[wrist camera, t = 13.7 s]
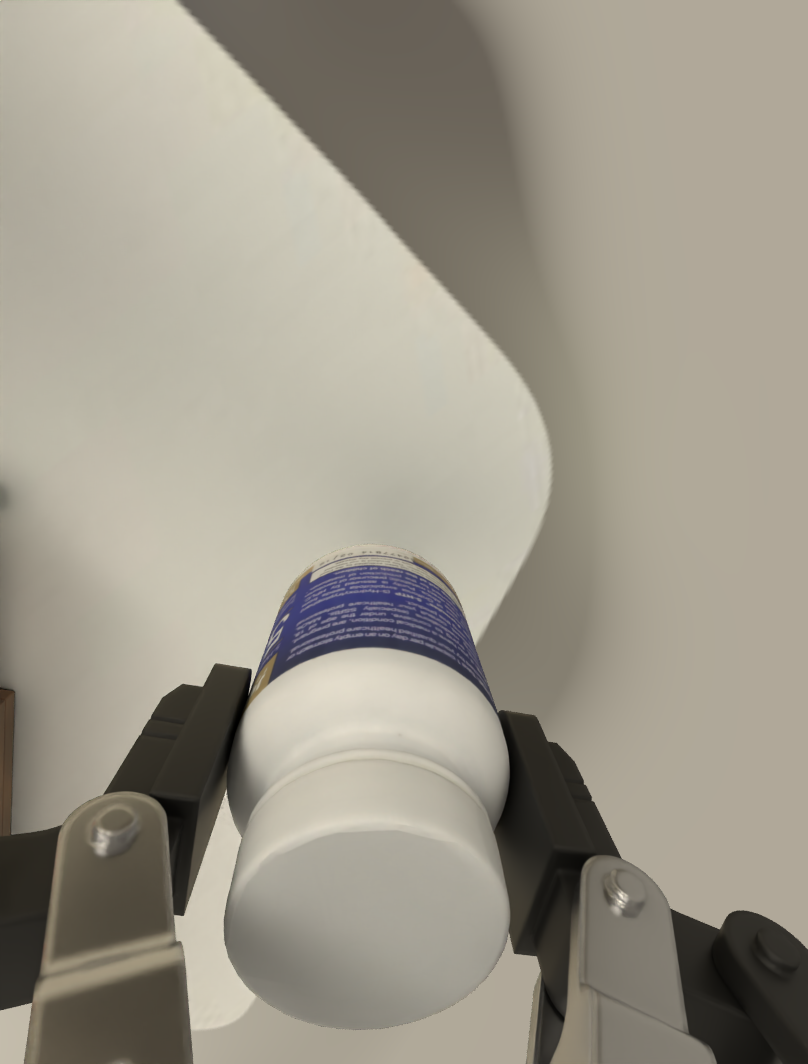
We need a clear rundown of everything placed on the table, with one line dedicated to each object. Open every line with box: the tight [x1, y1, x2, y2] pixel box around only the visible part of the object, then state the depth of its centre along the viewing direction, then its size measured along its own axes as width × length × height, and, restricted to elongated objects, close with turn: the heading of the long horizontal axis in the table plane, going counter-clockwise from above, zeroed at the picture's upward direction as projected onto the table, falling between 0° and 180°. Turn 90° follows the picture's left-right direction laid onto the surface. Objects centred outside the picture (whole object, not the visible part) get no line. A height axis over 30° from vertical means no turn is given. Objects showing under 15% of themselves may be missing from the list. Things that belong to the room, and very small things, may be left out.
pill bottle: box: [224, 544, 510, 1030], centre depth 12 cm, size 5×5×9 cm
